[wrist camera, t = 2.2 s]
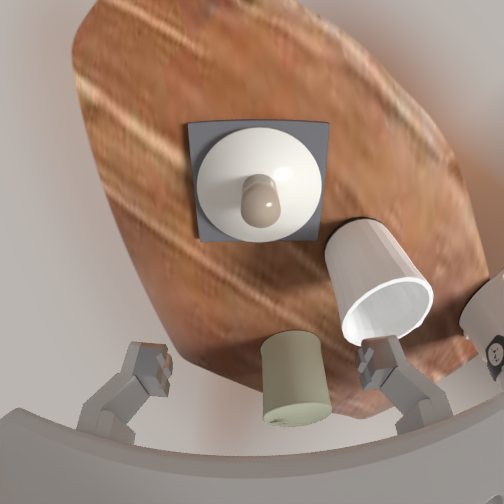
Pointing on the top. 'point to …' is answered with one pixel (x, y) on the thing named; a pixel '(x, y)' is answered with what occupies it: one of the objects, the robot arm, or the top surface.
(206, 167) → the lid
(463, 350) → the top surface
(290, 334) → the can
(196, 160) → the mat
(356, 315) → the mug
